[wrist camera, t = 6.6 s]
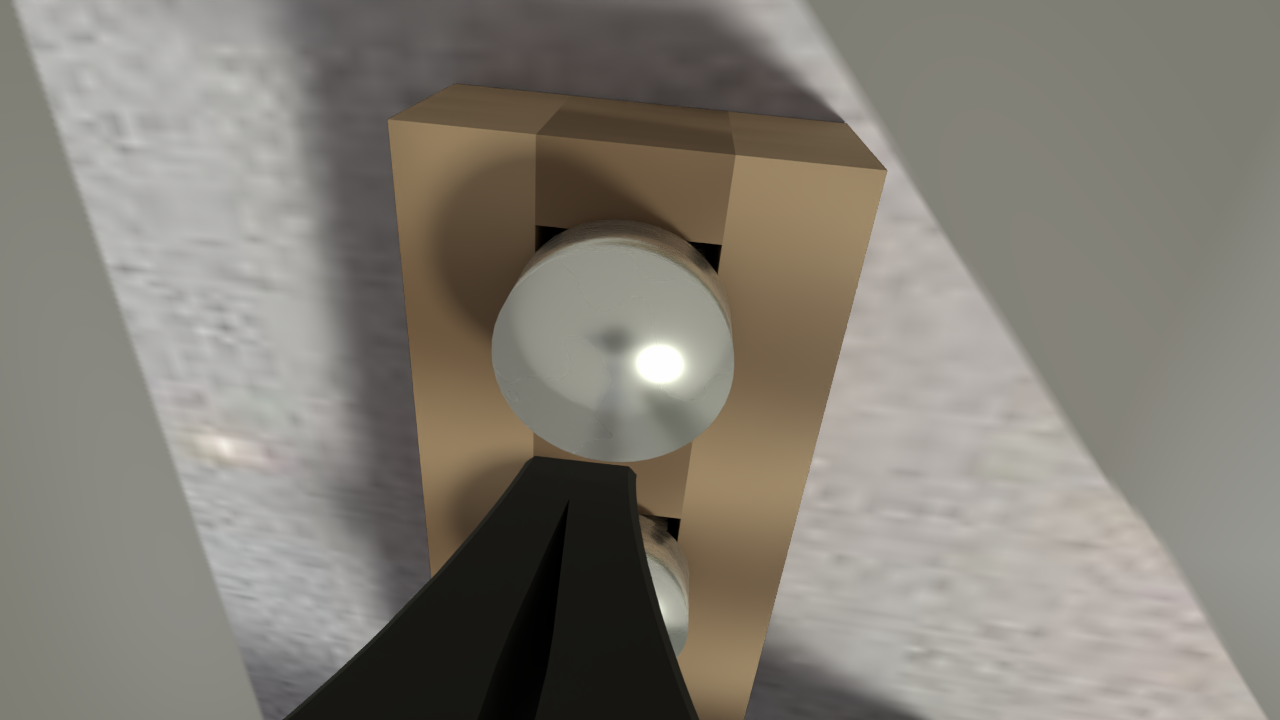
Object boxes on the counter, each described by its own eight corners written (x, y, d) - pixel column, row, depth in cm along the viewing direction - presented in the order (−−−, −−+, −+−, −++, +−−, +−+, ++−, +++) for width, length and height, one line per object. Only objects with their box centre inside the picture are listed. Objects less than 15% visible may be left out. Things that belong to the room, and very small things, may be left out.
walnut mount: (718, 696, 27) (720, 807, 23) (482, 667, 27) (450, 774, 23) (847, 123, 16) (887, 170, 12) (454, 83, 16) (387, 119, 13)
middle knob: (682, 533, 22) (677, 695, 17) (543, 517, 22) (500, 673, 17) (699, 418, 20) (699, 568, 15) (545, 401, 20) (496, 544, 15)
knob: (712, 338, 19) (716, 473, 14) (547, 320, 19) (494, 448, 14) (737, 173, 16) (753, 265, 12) (550, 154, 16) (488, 238, 12)
